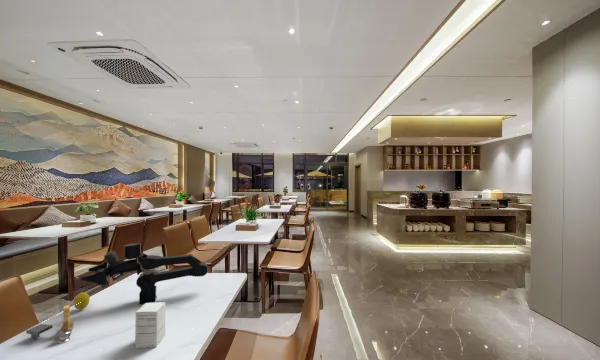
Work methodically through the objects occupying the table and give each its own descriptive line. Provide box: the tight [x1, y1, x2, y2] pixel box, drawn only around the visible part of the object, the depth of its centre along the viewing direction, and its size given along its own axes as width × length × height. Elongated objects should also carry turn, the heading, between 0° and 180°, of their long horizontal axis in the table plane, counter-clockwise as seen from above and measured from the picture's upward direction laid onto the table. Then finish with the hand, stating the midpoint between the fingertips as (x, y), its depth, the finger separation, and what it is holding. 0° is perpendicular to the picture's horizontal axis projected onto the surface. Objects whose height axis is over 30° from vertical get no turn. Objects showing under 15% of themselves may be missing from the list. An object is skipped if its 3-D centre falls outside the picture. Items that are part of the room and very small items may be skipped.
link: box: [59, 303, 74, 337], centre depth 97 cm, size 9×3×10 cm, turn 37°
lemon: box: [73, 291, 91, 311], centre depth 115 cm, size 6×6×8 cm
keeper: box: [25, 323, 53, 340], centre depth 94 cm, size 5×5×4 cm
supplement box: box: [134, 301, 167, 349], centre depth 92 cm, size 7×7×13 cm
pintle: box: [56, 329, 72, 345], centre depth 92 cm, size 4×4×3 cm
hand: (85, 274), depth 115 cm, fingers open, 9 cm apart
